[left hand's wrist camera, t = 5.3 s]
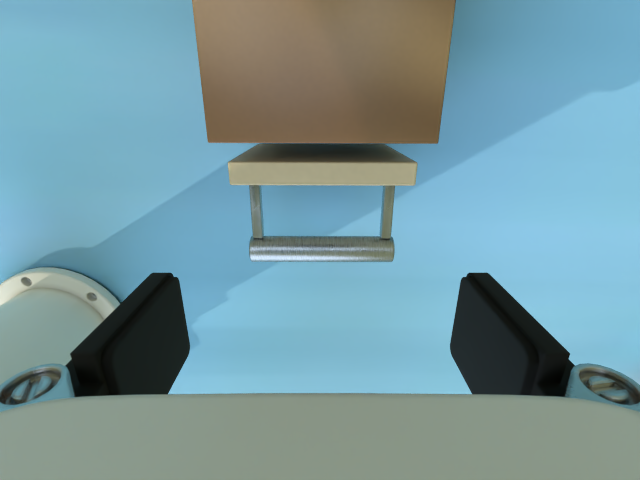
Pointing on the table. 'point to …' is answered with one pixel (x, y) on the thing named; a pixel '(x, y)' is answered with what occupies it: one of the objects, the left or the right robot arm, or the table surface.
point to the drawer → (322, 169)
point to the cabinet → (323, 69)
